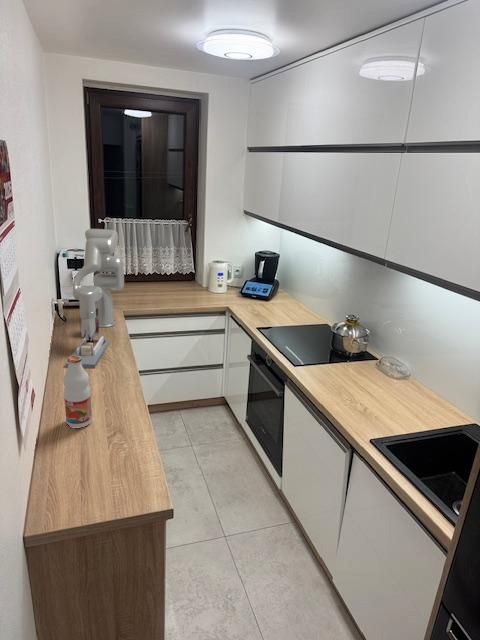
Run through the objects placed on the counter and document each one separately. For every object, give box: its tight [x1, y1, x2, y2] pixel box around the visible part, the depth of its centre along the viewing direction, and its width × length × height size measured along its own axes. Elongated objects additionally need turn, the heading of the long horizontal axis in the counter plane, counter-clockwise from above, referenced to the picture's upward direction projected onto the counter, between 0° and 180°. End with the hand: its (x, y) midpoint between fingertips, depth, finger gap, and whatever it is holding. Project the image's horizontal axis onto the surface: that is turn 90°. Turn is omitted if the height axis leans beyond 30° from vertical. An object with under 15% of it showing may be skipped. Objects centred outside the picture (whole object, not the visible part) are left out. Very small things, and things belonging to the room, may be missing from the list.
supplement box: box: [83, 308, 100, 338], centre depth 247 cm, size 9×5×16 cm, turn 168°
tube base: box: [65, 335, 111, 369], centre depth 226 cm, size 31×14×5 cm, turn 3°
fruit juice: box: [62, 354, 93, 427], centre depth 166 cm, size 9×9×28 cm
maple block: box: [81, 342, 93, 356], centre depth 223 cm, size 6×4×4 cm
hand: (90, 347), depth 229 cm, fingers closed
